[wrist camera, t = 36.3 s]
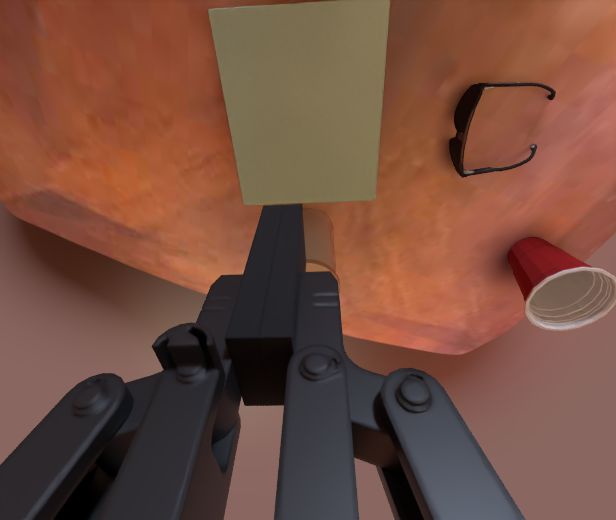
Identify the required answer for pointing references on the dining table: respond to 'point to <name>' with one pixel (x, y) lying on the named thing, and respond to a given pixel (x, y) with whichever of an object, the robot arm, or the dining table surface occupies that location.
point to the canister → (319, 242)
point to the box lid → (304, 97)
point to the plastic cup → (560, 286)
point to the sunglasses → (464, 119)
